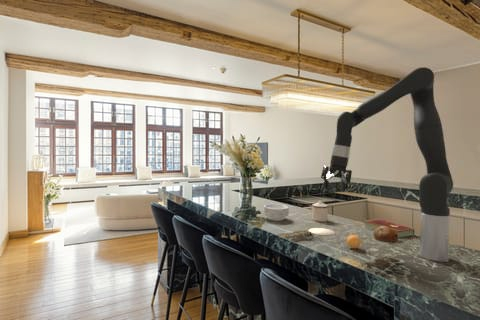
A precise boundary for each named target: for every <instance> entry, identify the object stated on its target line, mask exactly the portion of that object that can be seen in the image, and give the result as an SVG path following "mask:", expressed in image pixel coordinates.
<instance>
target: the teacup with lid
mask: <svg viewBox="0 0 480 320" xmlns="http://www.w3.org/2000/svg"><path fill="white" fill-rule="evenodd" d="M311 206H312V207H311V213H312V220H313V221H314V222H320V223H321V222H324V223H325V222H327V221H328V208H329V205H328V204H326V203H324V202H323V201H322V200H318V202H316V203H312V205H311Z"/></svg>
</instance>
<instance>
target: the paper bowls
mask: <svg viewBox="0 0 480 320" xmlns="http://www.w3.org/2000/svg"><path fill="white" fill-rule="evenodd" d="M289 213H290V207H289V206H288V205H284V204H278V203H269V204H264V205H263V215H265V216H266V218H267V219H268V220H270V221H274V222H275V221H276V222H279V221H280V222H281V221H284V220H285V218H286V217H288V216H289Z"/></svg>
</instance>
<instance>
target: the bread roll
mask: <svg viewBox="0 0 480 320" xmlns="http://www.w3.org/2000/svg"><path fill="white" fill-rule="evenodd" d="M373 238H374V239H375V240H378V241H381V242H389V243H390V242H391V243H392V242H393V243H394V242H397V240H399V238H400V237H398V235H397V232H395V231H394V230H393V229H392V228H390V227H387V226H380V227H378V228H377V229H376V230H373Z"/></svg>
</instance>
